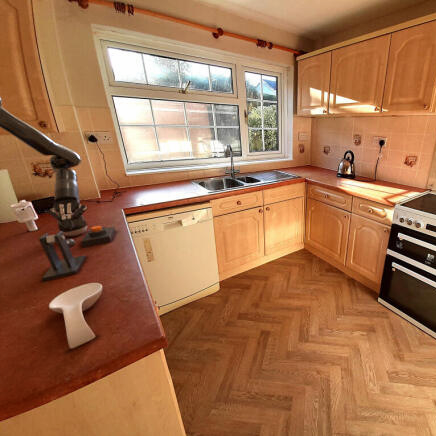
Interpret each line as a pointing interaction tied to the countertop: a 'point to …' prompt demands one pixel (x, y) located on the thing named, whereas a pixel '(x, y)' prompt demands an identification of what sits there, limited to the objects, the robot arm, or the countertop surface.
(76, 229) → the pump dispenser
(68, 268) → the lever bracket
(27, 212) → the white stemmed block
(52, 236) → the lever
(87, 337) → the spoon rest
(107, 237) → the grey control base
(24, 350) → the countertop surface
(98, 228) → the power button
